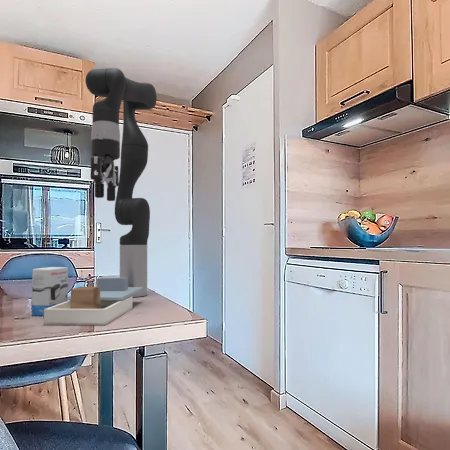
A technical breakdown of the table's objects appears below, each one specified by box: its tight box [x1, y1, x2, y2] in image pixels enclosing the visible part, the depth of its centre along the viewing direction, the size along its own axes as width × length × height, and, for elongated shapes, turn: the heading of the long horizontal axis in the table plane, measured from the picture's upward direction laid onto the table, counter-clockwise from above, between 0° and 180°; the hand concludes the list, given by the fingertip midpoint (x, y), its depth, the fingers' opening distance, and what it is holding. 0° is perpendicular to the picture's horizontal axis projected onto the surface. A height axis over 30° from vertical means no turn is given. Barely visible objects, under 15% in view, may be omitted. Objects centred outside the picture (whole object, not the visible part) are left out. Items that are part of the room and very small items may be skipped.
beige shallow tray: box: [43, 296, 134, 326], centre depth 93 cm, size 20×14×4 cm
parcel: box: [70, 286, 100, 309], centre depth 89 cm, size 5×5×7 cm
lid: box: [67, 277, 143, 301], centre depth 104 cm, size 20×14×4 cm
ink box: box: [31, 266, 69, 317], centre depth 98 cm, size 8×5×12 cm, turn 168°
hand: (105, 199), depth 102 cm, fingers open, 8 cm apart
